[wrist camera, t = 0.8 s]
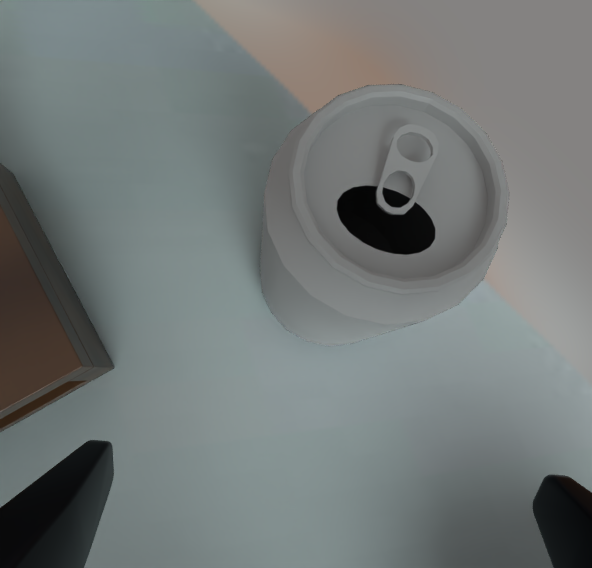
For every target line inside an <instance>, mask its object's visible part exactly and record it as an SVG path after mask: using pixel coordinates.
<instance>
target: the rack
mask: <svg viewBox="0 0 592 568" xmlns="http://www.w3.org/2000/svg"><path fill="white" fill-rule="evenodd" d="M112 369H114V366H113V364H112V362H111V360H110V358H109V356H108V354H107V352H106V350H105V348H104V347H103V345H102V343H101V341H100V339H99V337H98V335H97V333H96V331H95V329H94V327H93V326H92V324H91V322H90V320H89V318H88V316H87V314H86V312H85V310H84V308H83V306H82V305H81V303H80V301H79V299H78V297H77V295H76V293H75V291H74V289H73V287H72V285H71V284H70V282H69V280H68V278H67V276H66V274H65V272H64V270H63V268H62V266H61V264H60V263H59V261H58V259H57V257H56V255H55V253H54V251H53V249H52V247H51V245H50V243H49V242H48V240H47V238H46V236H45V234H44V232H43V230H42V228H41V226H40V224H39V222H38V221H37V219H36V217H35V215H34V213H33V211H32V209H31V207H30V205H29V203H28V201H27V200H26V198H25V196H24V194H23V192H22V190H21V188H20V186H19V184H18V182H17V181H16V179H15V177H14V175H13V173H12V172H10V171H9V170H8V169H7V168H6V167H4V166H3V165H2V164H1V163H0V432H2V431H4V430H5V429H7V428H9V427H11V426H13V425H14V424H16V423H18V422H20V421H21V420H23V419H25V418H27V417H29V416H30V415H32V414H34V413H36V412H37V411H39V410H41V409H43V408H45V407H46V406H48V405H50V404H52V403H53V402H55V401H57V400H59V399H61V398H62V397H64V396H66V395H68V394H69V393H71V392H73V391H75V390H76V389H78V388H80V387H82V386H84V385H85V384H87V383H89V382H91V381H92V380H94V379H96V378H98V377H100V376H101V375H103V374H105V373H107V372H108V371H110V370H112Z"/></svg>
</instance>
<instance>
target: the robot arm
mask: <svg viewBox="0 0 592 568" xmlns="http://www.w3.org/2000/svg"><path fill="white" fill-rule="evenodd" d="M113 476H114V467H113V449H112V444H111V443H110V442H108V441H98V440H90V441H88V442H86V443H84V444H83V445H82V446H81V447H79V448H78V449H77V450H75V451H74V452H73V453H71V454H70V455H69V456H67V457H66V458H65V459H64V460H62V461H61V462H60V463H58V464H57V465H56V466H54V467H53V468H52V469H51V470H49V471H48V472H47V473H45V474H44V475H43V476H41V477H40V478H39V479H38V480H36V481H35V482H34V483H32V484H31V485H30V486H28V487H27V488H26V489H24V490H23V491H22V492H21V493H19V494H18V495H17V496H15V497H14V498H13V499H11V500H10V501H9V502H8V503H6V504H5V505H4V506H2V507H1V508H0V568H84V566H85V563H86V560H87V557H88V555H89V552H90V549H91V546H92V543H93V540H94V537H95V534H96V531H97V527H98V524H99V521H100V518H101V515H102V512H103V509H104V506H105V503H106V500H107V497H108V494H109V491H110V488H111V485H112V481H113ZM533 513H534V516H535V519H536V521H537V524H538V527H539V530H540V532H541V535H542V538H543V540H544V543H545V546H546V548H547V551H548V554H549V556H550V559H551V562H552V565H553V567H554V568H592V493H591V492H590V491H588V490H587V489H586V488H584V487H583V486H581V485H580V484H579V483H577V482H576V481H574V480H573V479H572V478H570V477H568V476H563V475H547V476H546V477H545V478H544V479H543V482H542V484H541V486H540V488H539V490H538V492H537V494H536V496H535V498H534V500H533Z"/></svg>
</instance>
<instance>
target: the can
mask: <svg viewBox="0 0 592 568" xmlns="http://www.w3.org/2000/svg"><path fill="white" fill-rule="evenodd" d="M508 203H509V189H508V184H507V180H506V175H505V171H504V167H503V162H502V160H501V158H500V156H499V154H498V153H497V151H496V149H495V147H494V146H493V144H492V142H491V140H490V139H489V137H488V136H487V133H486V132H485V131H484V130H483V129H482V128H481V127H480V126H479V125H478V124H477V123H476V122H475V121H474V120H473V119H472V118H471V117H470V116H469V115H468V114H467V113H466V112H465V111H464V110H463V109H462V108H460V107H458V106H456V105H454V104H453V103H451V102H449V101H448V100H446V99H444V98H442V97H440V96H439V95H437V94H435V93H433V92H430V91H426V90H422V89H418V88H414V87H410V86H406V85H402V84H388V85H367V86H364V87H361V88H358V89H355V90H352V91H349V92H347V93H344V94H341V95H338V96H337V97H335V98H334V99H333V100H331V101H330V102H329V103H327V104H326V105H325V106H324V107H322V108H321V109H319V110H318V111H316V112H315V113H313V114H312V115H311V116H309V117H308V118H307V119H305V120H304V121H303V122H301V123H300V124H299V125H298V126H296V127H295V128H294V129H292V130H291V131H290V133H289V135H288V136H287V138H286V139H285V141H284V142H283V144H282V145H281V147H280V148H279V150H278V151H277V153H276V154H275V156H274V157H273V159H272V163H271V167H270V171H269V175H268V179H267V183H266V188H265V192H264V204H263V222H262V240H261V258H260V277H261V287H262V293H263V295H264V298H265V300H266V302H267V304H268V307H269V309H270V311H271V313H272V314H273V315H274V316H275V317H276V319H277V320H278V321H279V322H280V323H281V324H282V325H283V326H284V328H285V329H286V330H288V331H289V332H291V333H293V334H295V335H296V336H298V337H300V338H302V339H303V340H305V341H307V342H312V343H316V344H321V345H326V346H335V345H345V344H352V343H355V342H359V341H362V340H365V339H368V338H371V337H374V336H378V335H381V334H384V333H387V332H390V331H394V330H397V329H400V328H403V327H406V326H409V325H413V324H416V323H419V322H422V321H425V320H427V319H429V318H431V317H433V316H436V315H438V314H440V313H442V312H444V311H446V310H448V309H451V308H453V307H455V306H457V305H458V304H459V303H460V302H461V301H462V300H463V299H464V298H465V297H466V296H467V295H468V294H469V293H470V292H471V291H472V290H473V289H474V288H475V287H476V286H477V285H478V284H479V283H480V282H481V281H482V280H483V279H484V277H485V275H486V273H487V270H488V268H489V266H490V264H491V262H492V259H493V257H494V255H495V253H496V251H497V249H498V242H499V240H500V238H501V235H502V233H503V231H504V229H505V227H506V224H507V213H508Z"/></svg>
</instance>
